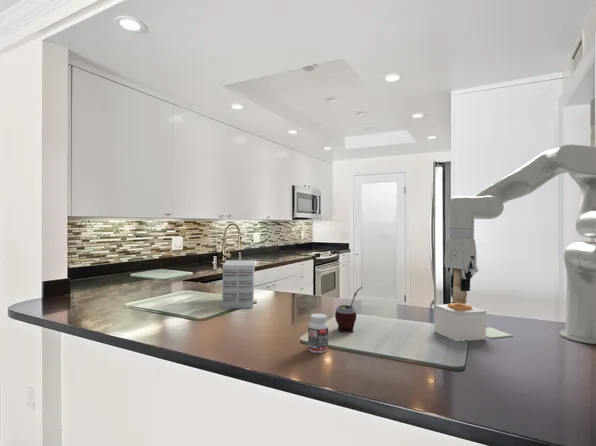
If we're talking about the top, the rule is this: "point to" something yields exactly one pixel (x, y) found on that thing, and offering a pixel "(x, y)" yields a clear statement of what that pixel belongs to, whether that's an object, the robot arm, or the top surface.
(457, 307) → the button
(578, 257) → the robot arm
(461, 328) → the box
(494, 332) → the pad
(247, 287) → the supplement box
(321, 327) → the pill bottle
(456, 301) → the wooden cylinder
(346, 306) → the mate gourd
